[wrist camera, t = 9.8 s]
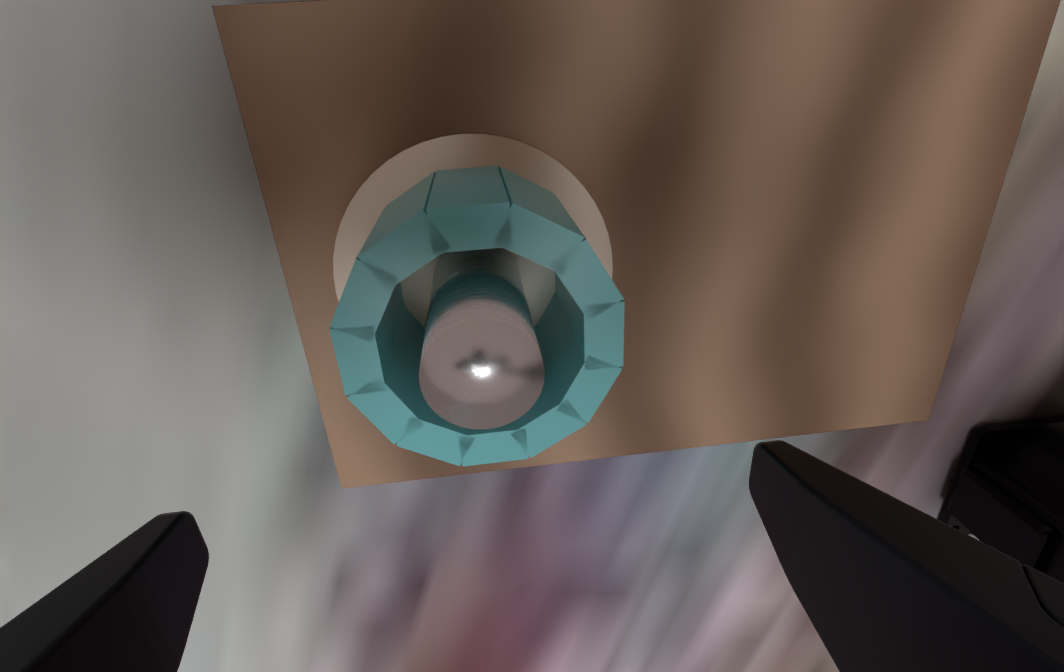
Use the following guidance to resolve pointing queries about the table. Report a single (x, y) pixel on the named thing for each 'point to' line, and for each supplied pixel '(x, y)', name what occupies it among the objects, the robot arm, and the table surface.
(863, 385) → the base board
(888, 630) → the robot arm
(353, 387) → the collar
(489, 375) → the steel pin
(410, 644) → the table surface
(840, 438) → the table surface
